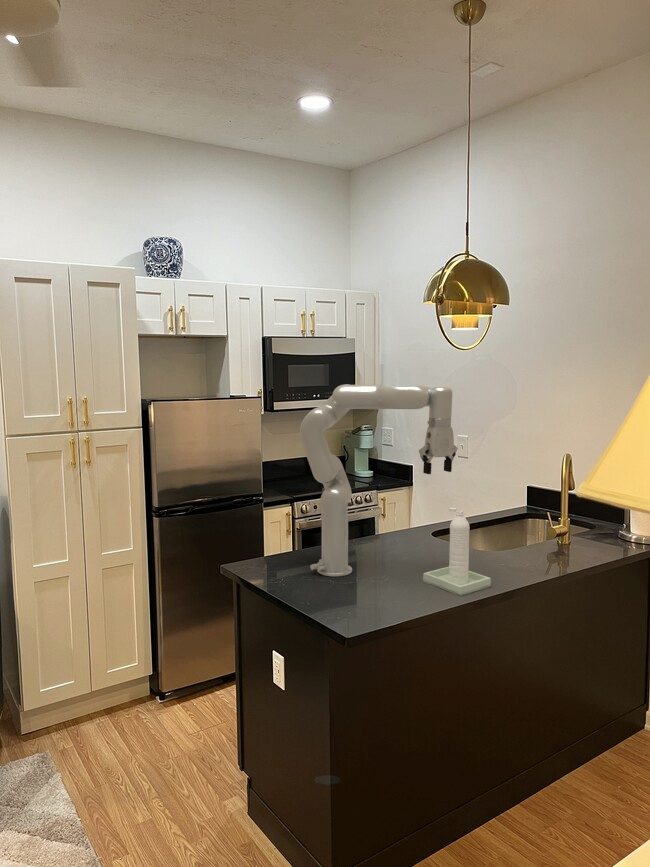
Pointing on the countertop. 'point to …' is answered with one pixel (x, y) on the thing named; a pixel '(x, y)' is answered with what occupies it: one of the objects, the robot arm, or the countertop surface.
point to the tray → (442, 581)
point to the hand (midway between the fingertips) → (437, 472)
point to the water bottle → (459, 549)
